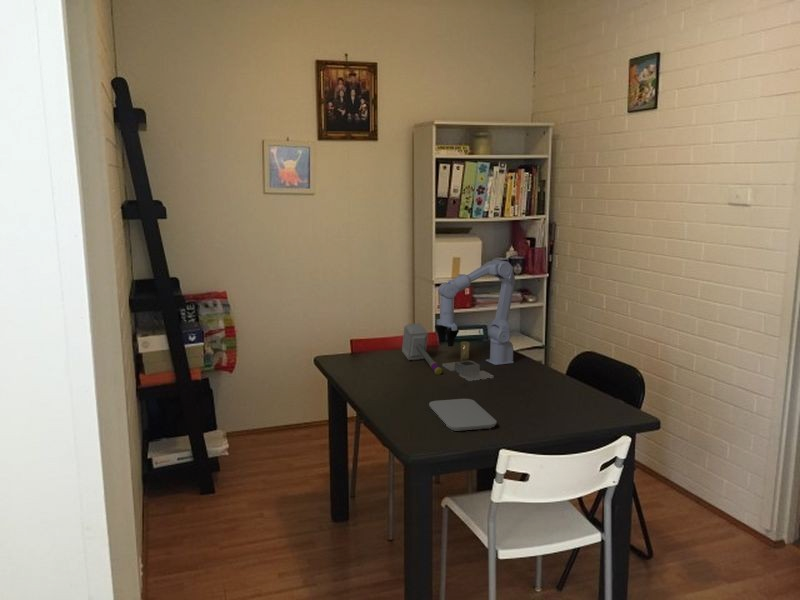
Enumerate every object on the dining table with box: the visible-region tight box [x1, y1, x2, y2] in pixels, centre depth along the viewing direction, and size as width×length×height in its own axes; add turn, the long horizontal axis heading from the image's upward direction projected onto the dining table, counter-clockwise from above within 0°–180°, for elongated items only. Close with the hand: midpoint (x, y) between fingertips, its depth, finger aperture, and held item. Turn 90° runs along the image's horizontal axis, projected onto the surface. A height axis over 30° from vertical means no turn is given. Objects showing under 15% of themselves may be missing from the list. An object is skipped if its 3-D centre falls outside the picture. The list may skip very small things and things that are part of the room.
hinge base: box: [441, 359, 494, 382], centre depth 279 cm, size 11×23×4 cm, turn 23°
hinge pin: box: [460, 341, 470, 362], centre depth 296 cm, size 4×4×8 cm
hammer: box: [401, 322, 443, 376], centre depth 287 cm, size 15×8×30 cm
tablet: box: [428, 398, 497, 431], centre depth 226 cm, size 16×26×2 cm, turn 14°
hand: (446, 344), depth 285 cm, fingers open, 7 cm apart
